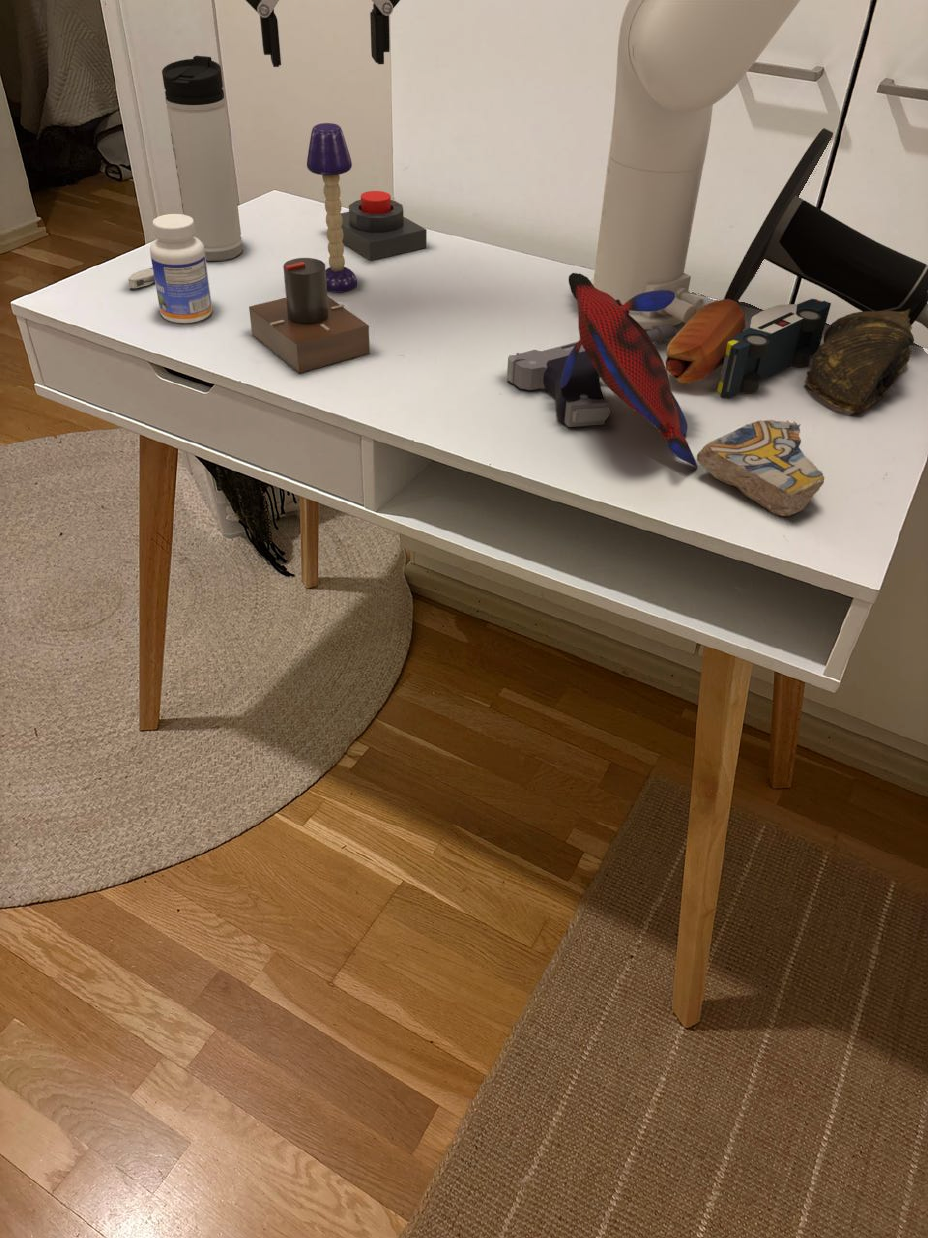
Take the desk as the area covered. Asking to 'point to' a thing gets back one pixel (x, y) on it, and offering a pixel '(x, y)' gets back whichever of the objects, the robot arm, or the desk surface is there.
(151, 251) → the pill bottle
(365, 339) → the dimmer panel
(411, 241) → the switch block
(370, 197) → the button
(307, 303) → the dimmer knob
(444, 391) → the desk surface
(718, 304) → the hot dog
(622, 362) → the fish
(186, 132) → the travel mug
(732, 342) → the toy car
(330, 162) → the toy lamp
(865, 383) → the seashell
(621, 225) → the robot arm
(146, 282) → the oval pebble
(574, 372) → the handgun
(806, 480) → the ceramic tile fragment
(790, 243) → the black flanged spool
